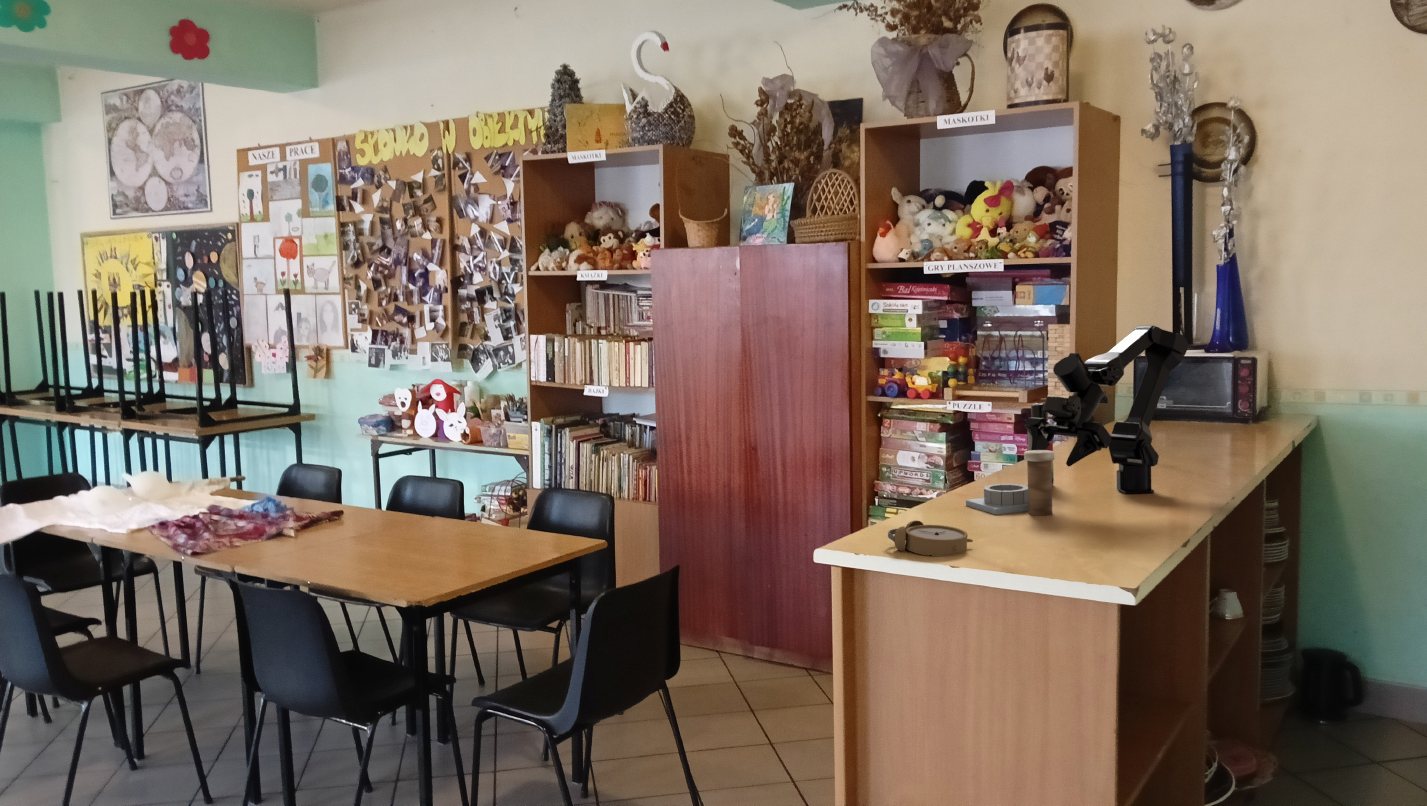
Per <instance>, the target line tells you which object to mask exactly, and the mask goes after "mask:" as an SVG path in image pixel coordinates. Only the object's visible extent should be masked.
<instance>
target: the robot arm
mask: <svg viewBox="0 0 1427 806" xmlns="http://www.w3.org/2000/svg"><path fill="white" fill-rule="evenodd" d="M1188 350H1189V344H1188V340H1187V339H1186V338H1185V337H1184V335H1183V334H1182V333H1176V332H1173V331H1170V330H1165V329H1162V328H1160V327H1158V326H1156V325H1138V326H1136V327H1134V328H1133V330H1132V332H1131V333H1130V334H1128V335H1127V336H1126V337H1124V338H1123V339H1122V340H1121V341H1120V342H1118V343H1117V344H1116V345H1114V346H1113V347H1112V348H1111V349H1110V350H1109V351H1107V352H1106V353H1101V354H1098V355H1095V356H1093V357H1091V358H1089V359H1087V360H1085V361H1083V359H1082V357H1081V355H1080V353H1079V352H1070V353H1069V355H1068V356H1065V357H1063V358H1062V359H1060V360H1059V361H1058V362H1055V364H1054V365H1053V369H1052V372H1053V374H1054V375H1055V376H1056V378H1057V379H1058V381H1059V382H1060V383H1061V385H1062V386H1063V388H1064V389H1065V391H1067V392H1068V393H1073V394H1072V395H1069V396H1068V397H1062V396H1052V395H1051V396H1046V398H1045V400H1044V402H1045V404H1044V408H1043V411H1044V412H1048V415H1049V414H1050V415H1051V417H1050V418H1051V420H1052V421H1053V422H1054V423H1055V424H1052V425H1049V423H1048V422H1049V421H1046V419H1045V418H1034V417H1028V418H1027V419H1026V421H1025V423H1024V425H1023V426H1024V428H1025V430H1026V431H1027V433H1028V432H1029V433H1030V435H1031V436H1032V448H1031V450H1046V449H1047V448H1048V447H1049V446H1050V443H1049V442H1050V441H1052V440H1053V439H1054V438H1055V435H1056V436H1066V437H1068V438H1076V441H1075V444H1074V445H1073V448H1072V449H1071V452H1070V453H1069V455H1068V457H1067V459H1066V462H1065V465H1066V466H1067V467H1071V466H1073V465H1074V464H1076V463H1078V462H1080V461H1081V460H1082V459H1085V458H1086V457H1088V456H1089V455H1092V454H1093V453H1095V452H1097V451H1099V452H1100V451H1101V450H1102V449H1108V450H1109V455H1110V458H1111V462H1112V464H1113V465H1116V464H1118V469H1117V470H1116V490H1118V491H1120V492H1122V493H1124V494H1144V493H1146V494H1148V493H1155V489H1153V488H1152V467H1156V466H1157V465H1158V463H1159V457H1160V455H1159V453H1157V451H1156V449H1155V448H1154V447H1153V445H1152V442H1153V436H1152V433H1151V429H1150V425H1151V423H1152V420H1153V417H1154V414H1155V411H1156V410H1157V406H1158V403H1159V402H1160V399H1161V397H1162V393H1163V390H1164V388H1165V386H1166V382H1167V380H1168V378H1169V375H1170V373H1171V371H1173V370H1174V369H1176V368H1177V367H1178V366H1179V365H1180V364H1181V363H1182V361H1183V359H1184V358H1185V355H1186V354H1187V351H1188ZM1143 352H1144V356H1145V359H1146V363H1147V366H1146V368H1145V371H1144V374H1143V377H1142V379H1141V382H1140V383H1139V387H1138V389H1137V392H1136V395H1135V397H1134V400H1133V401H1132V405H1131V407H1130V410H1129V413H1128V415H1127V418H1126V419H1125V420H1124V421H1116V422H1115V423H1114V424H1113V429H1112V431H1111V433H1110V432H1109V431H1108V430H1107V429H1106V427H1105V426H1104V424H1103V423H1102V422H1101V421H1095V420H1096V418H1095V417H1094V414H1095V412H1096V410H1097V408H1098V406H1099V405H1100V404H1102V405H1103V404H1104V405H1105V404H1107V405H1108V404H1109V398H1108V397H1107V392H1106V390H1103V389H1102V387H1101V386H1103V387H1114V386H1116V385H1117V383H1118V382H1119V381H1120V380H1121V379H1122V377H1123V376H1124V375H1125V368H1126V367H1127V366H1128V365H1129V364H1130V363H1132V361H1134V360H1135V359H1136V358H1138V357H1139V356H1140V355H1142V353H1143ZM1053 441H1054V440H1053Z"/></svg>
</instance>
